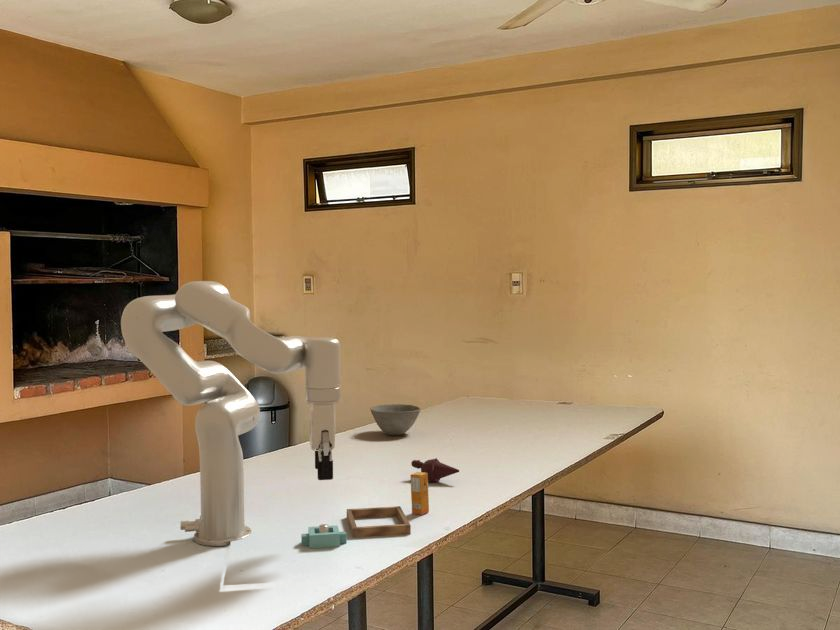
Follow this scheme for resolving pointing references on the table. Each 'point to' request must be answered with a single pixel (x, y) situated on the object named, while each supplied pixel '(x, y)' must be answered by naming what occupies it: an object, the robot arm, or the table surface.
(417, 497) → the supplement box
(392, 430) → the bowl
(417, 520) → the table surface
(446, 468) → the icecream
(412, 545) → the table surface
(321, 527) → the grey metallic peg stand
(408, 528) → the tray
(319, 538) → the teal tabbed square frame
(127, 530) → the table surface
